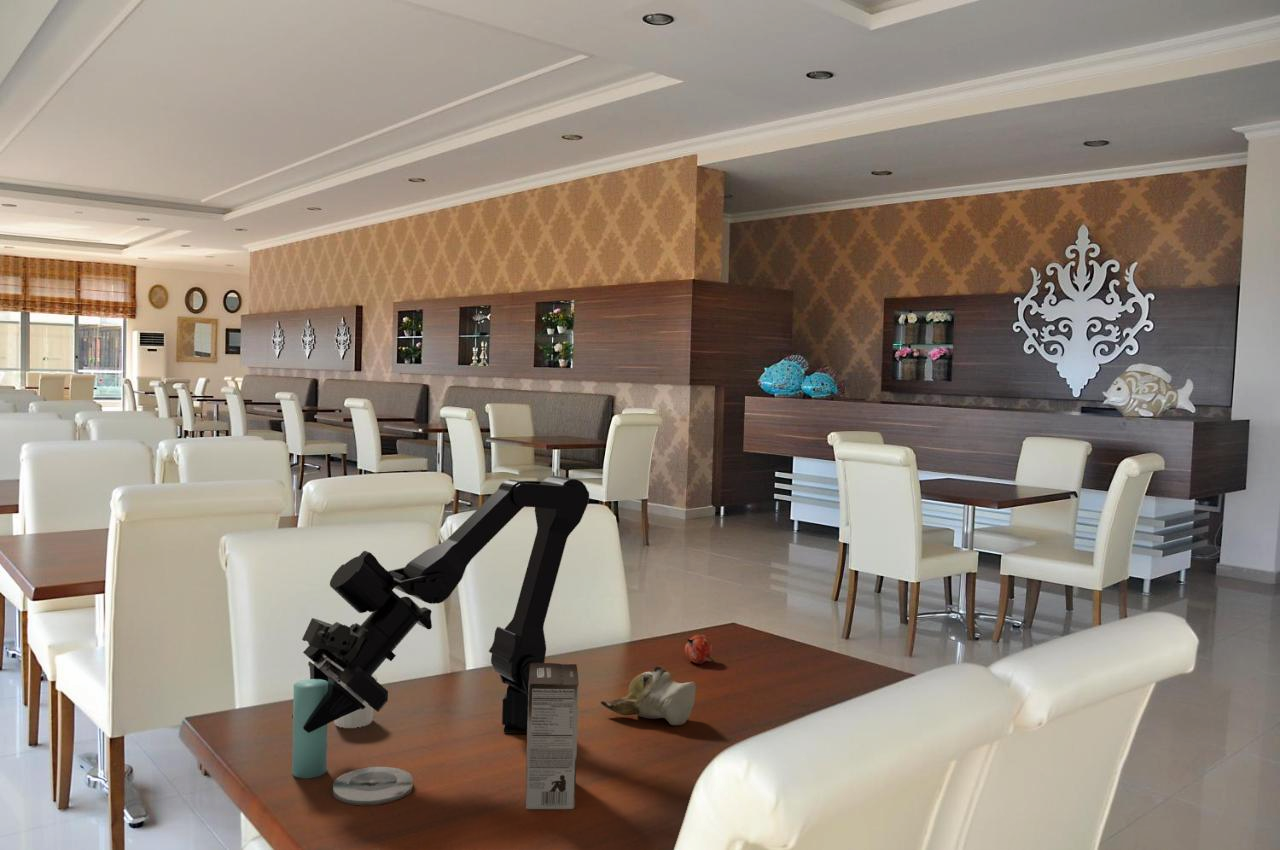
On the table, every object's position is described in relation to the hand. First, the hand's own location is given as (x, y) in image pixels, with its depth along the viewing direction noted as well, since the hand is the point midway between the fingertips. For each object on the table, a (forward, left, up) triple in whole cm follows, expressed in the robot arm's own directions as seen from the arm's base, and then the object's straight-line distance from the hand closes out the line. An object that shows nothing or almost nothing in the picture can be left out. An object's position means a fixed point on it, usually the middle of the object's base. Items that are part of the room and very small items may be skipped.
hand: (299, 725), depth 132 cm
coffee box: (-34, +4, -7) cm, 35 cm away
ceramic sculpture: (-48, -27, -7) cm, 56 cm away
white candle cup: (-1, -21, -7) cm, 22 cm away
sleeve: (-1, -1, -7) cm, 7 cm away
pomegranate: (-57, -61, -7) cm, 84 cm away
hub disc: (-11, +4, -7) cm, 14 cm away
